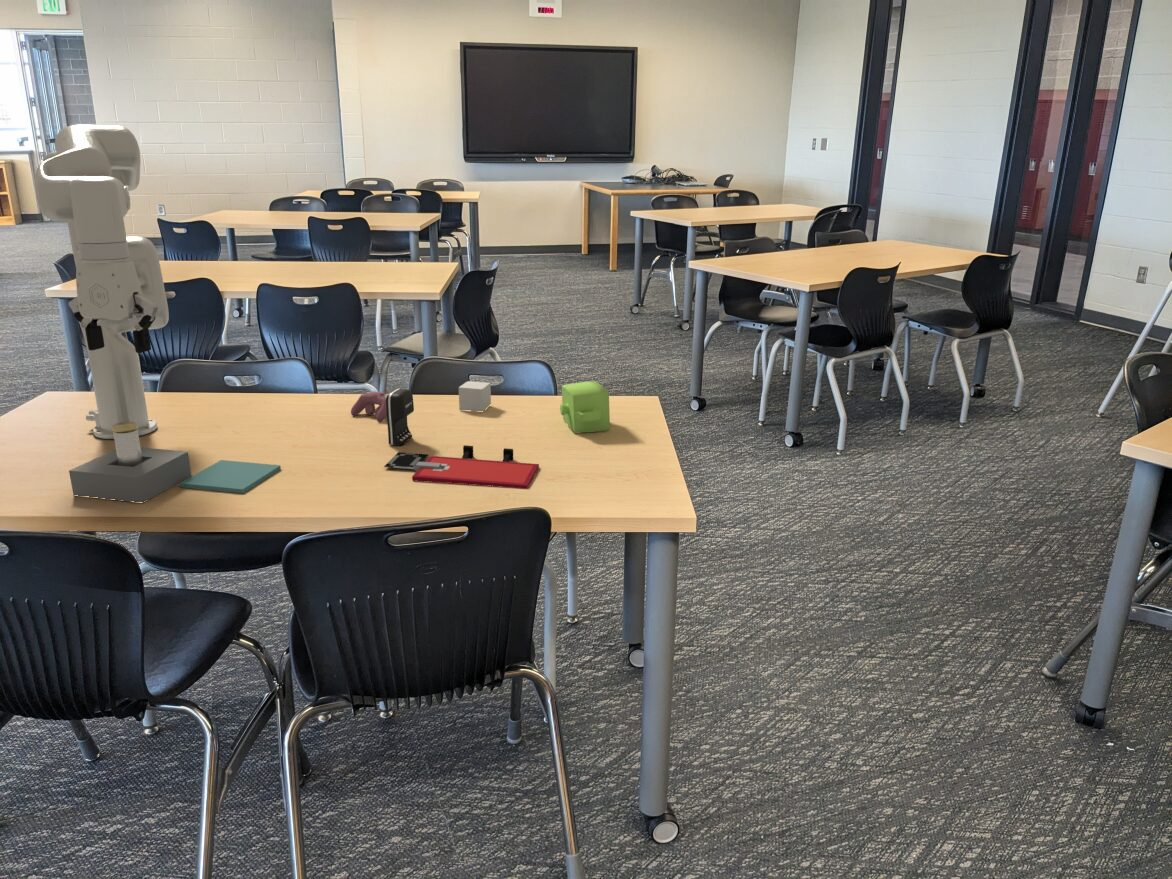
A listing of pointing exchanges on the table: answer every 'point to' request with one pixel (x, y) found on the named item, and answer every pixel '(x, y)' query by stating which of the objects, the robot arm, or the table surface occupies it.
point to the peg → (127, 444)
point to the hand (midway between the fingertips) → (120, 350)
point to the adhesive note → (474, 396)
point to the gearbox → (585, 407)
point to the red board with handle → (467, 469)
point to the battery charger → (399, 415)
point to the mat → (230, 476)
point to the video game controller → (371, 405)
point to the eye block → (131, 475)
